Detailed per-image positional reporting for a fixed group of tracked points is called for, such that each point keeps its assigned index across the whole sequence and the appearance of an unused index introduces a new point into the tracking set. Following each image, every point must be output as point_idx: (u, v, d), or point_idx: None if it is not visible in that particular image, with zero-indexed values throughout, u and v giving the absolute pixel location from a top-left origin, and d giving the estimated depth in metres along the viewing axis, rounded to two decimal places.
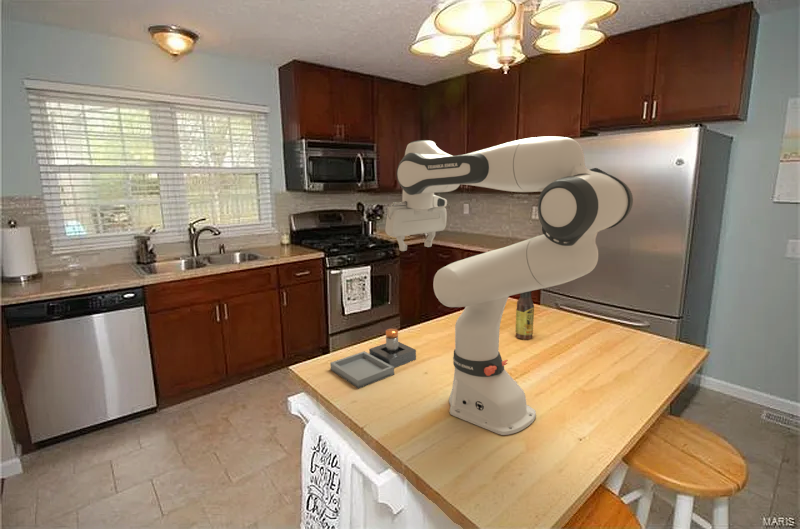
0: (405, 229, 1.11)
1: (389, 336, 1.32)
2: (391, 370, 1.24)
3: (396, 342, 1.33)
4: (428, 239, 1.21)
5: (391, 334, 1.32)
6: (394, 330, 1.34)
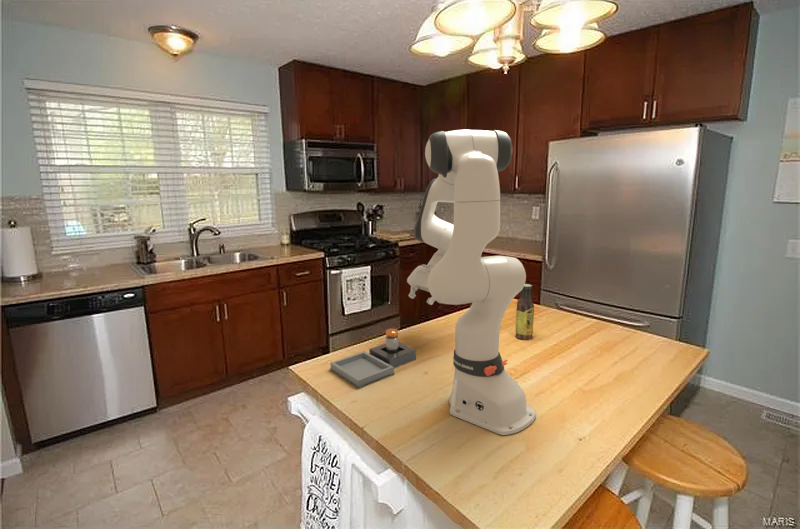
0: (415, 279, 1.45)
1: (389, 336, 1.32)
2: (391, 370, 1.24)
3: (396, 342, 1.33)
4: None
5: (391, 334, 1.32)
6: (394, 330, 1.34)
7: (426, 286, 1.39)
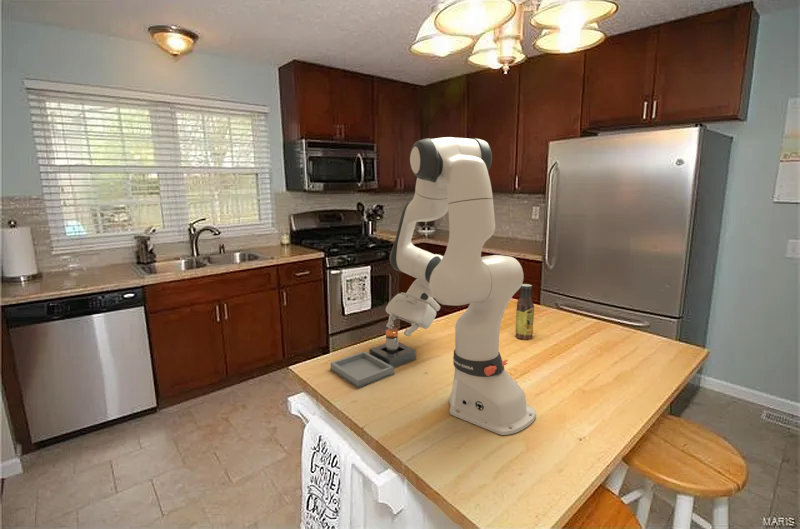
0: (394, 308, 1.40)
1: (389, 336, 1.32)
2: (391, 370, 1.24)
3: (396, 342, 1.33)
4: None
5: (391, 334, 1.32)
6: (394, 330, 1.34)
7: (404, 316, 1.35)
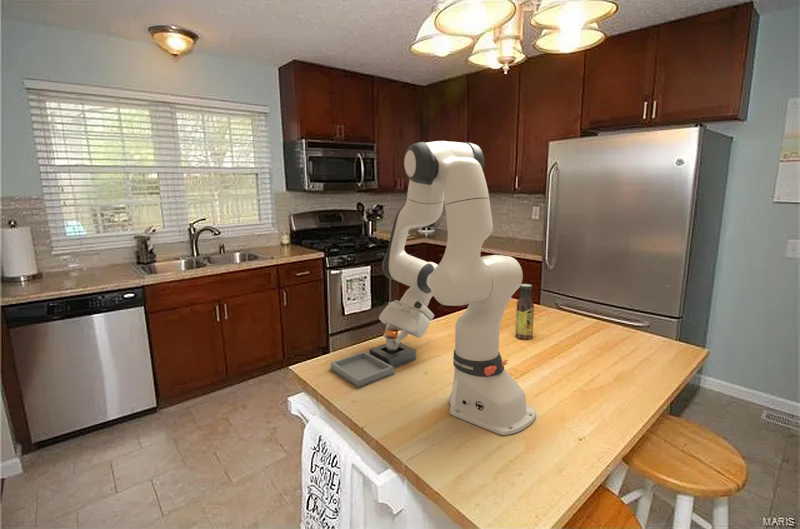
0: (387, 317, 1.39)
1: (389, 336, 1.32)
2: (391, 370, 1.24)
3: None
4: None
5: (391, 334, 1.32)
6: (394, 330, 1.34)
7: (397, 325, 1.33)
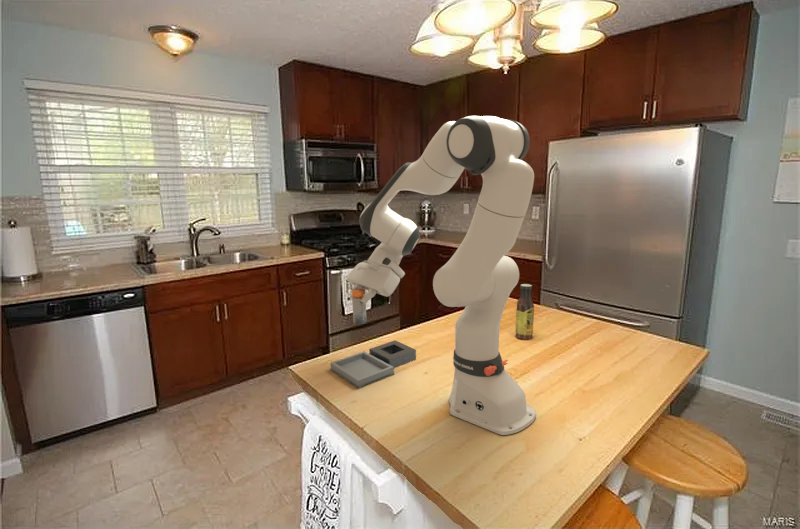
0: (355, 277, 1.27)
1: (355, 296, 1.20)
2: (391, 370, 1.24)
3: None
4: None
5: (357, 293, 1.20)
6: (361, 290, 1.22)
7: (364, 284, 1.22)
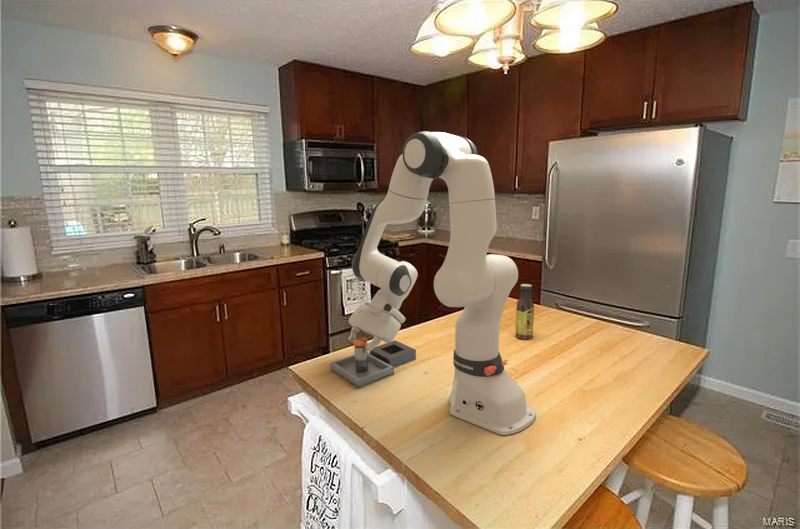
0: (356, 320, 1.30)
1: (357, 345, 1.23)
2: (391, 370, 1.24)
3: (365, 352, 1.24)
4: None
5: (359, 343, 1.23)
6: (363, 339, 1.25)
7: (366, 329, 1.24)
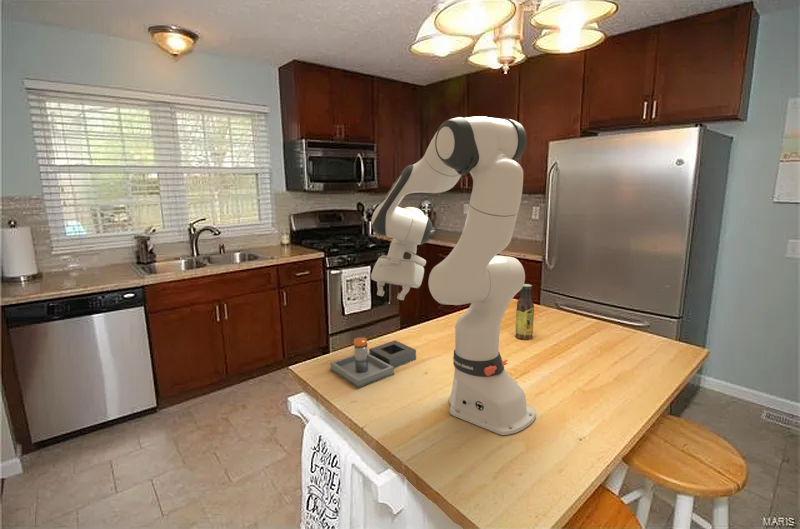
0: (379, 275, 1.34)
1: (357, 345, 1.23)
2: (391, 370, 1.24)
3: (365, 352, 1.24)
4: None
5: (359, 343, 1.23)
6: (363, 339, 1.25)
7: (392, 281, 1.29)
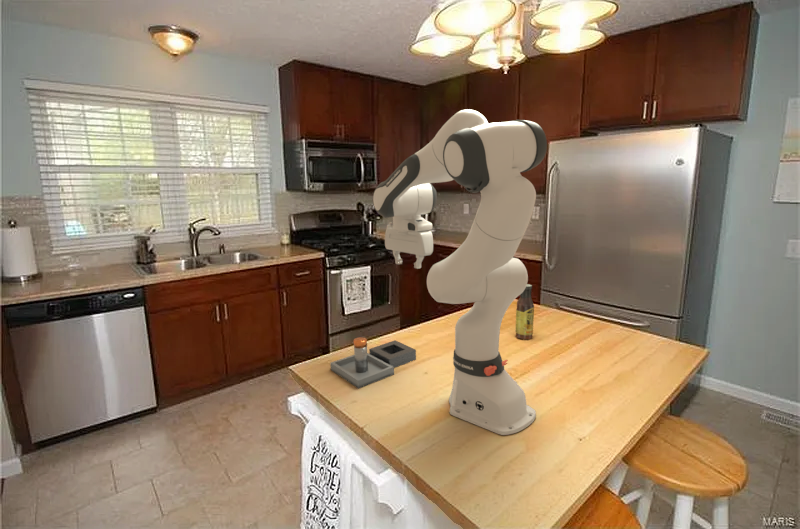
0: (392, 245, 1.33)
1: (357, 345, 1.23)
2: (391, 370, 1.24)
3: (365, 352, 1.24)
4: None
5: (359, 343, 1.23)
6: (363, 339, 1.25)
7: (405, 251, 1.29)
